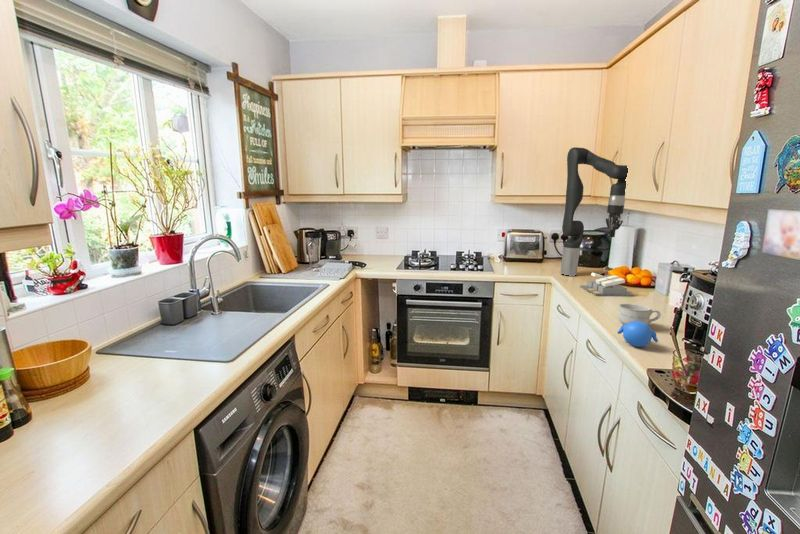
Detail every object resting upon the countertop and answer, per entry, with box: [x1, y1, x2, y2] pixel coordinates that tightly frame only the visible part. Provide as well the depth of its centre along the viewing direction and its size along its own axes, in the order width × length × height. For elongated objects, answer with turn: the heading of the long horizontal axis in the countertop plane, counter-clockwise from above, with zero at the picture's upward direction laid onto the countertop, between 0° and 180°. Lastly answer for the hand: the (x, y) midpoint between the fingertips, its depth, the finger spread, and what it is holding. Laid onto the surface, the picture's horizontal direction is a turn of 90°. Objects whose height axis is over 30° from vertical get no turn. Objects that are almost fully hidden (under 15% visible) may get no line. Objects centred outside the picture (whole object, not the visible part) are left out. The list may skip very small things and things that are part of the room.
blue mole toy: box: [617, 321, 659, 348], centre depth 133 cm, size 12×12×8 cm
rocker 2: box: [595, 275, 620, 284], centre depth 200 cm, size 4×10×2 cm, turn 91°
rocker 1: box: [590, 271, 606, 279], centre depth 205 cm, size 4×10×2 cm, turn 91°
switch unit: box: [579, 279, 635, 297], centre depth 201 cm, size 17×19×5 cm
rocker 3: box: [601, 277, 626, 287], centre depth 195 cm, size 4×10×2 cm, turn 91°
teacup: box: [617, 303, 662, 326], centre depth 150 cm, size 14×11×8 cm
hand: (611, 236), depth 208 cm, fingers closed
